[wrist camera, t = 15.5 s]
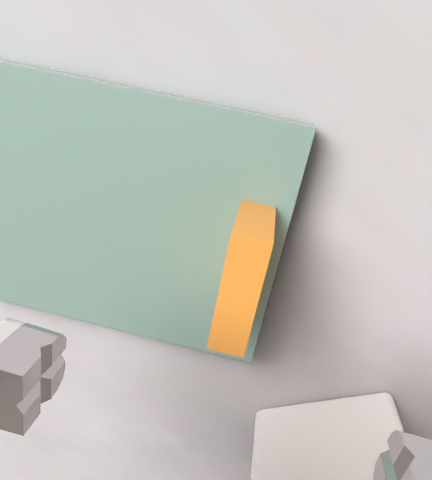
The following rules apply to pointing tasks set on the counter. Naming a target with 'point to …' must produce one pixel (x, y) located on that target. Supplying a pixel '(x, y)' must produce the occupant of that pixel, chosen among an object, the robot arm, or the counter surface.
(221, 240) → the lid
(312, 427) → the container
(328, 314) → the counter surface
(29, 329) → the robot arm
